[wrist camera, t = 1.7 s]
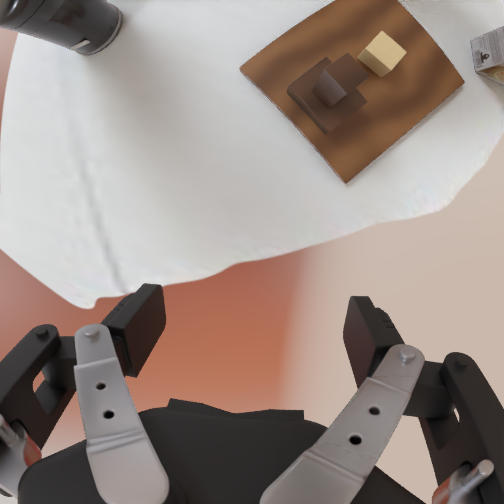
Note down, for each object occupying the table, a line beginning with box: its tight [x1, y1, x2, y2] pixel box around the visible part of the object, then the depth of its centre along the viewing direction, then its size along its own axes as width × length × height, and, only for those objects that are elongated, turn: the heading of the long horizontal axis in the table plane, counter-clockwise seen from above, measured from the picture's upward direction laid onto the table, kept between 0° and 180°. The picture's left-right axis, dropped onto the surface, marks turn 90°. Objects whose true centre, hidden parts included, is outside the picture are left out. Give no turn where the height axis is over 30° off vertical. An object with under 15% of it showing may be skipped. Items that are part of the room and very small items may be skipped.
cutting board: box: [239, 0, 465, 183], centre depth 30 cm, size 20×26×2 cm
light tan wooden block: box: [357, 31, 407, 77], centre depth 27 cm, size 4×4×4 cm
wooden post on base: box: [287, 52, 370, 134], centre depth 26 cm, size 7×6×13 cm
